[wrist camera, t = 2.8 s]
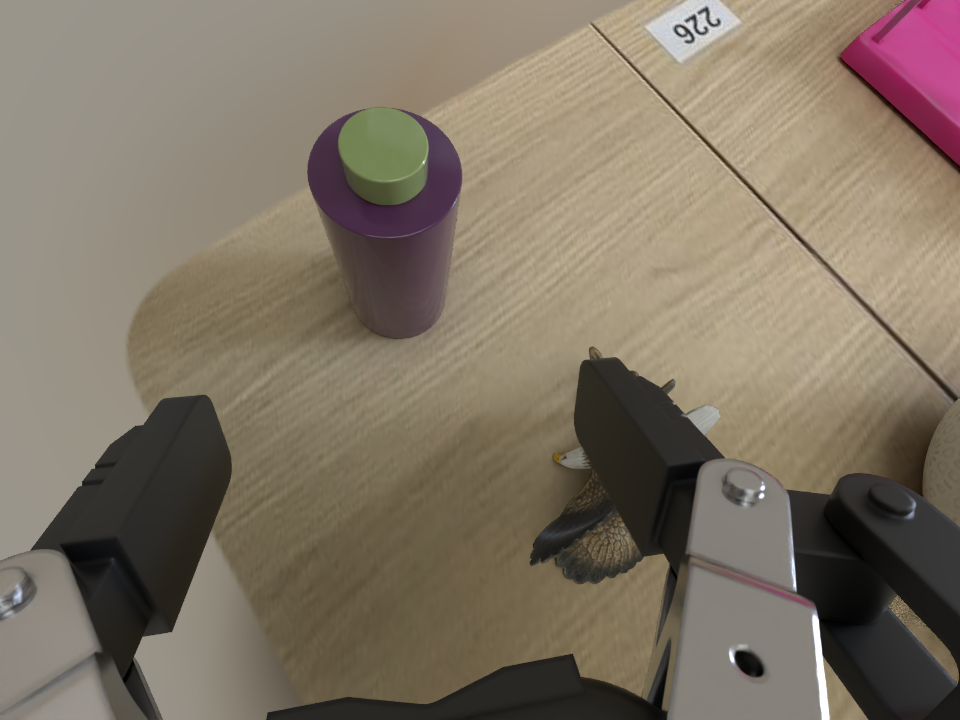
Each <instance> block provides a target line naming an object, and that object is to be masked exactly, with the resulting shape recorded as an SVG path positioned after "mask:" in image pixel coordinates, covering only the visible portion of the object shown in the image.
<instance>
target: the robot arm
mask: <svg viewBox="0 0 960 720" xmlns="http://www.w3.org/2000/svg"><path fill="white" fill-rule="evenodd" d="M574 425H575V431H576V435H577V438H578V440H579V443H580V444H581V446H582V448H583V450H584V452H585V453H586V455H587V457H588V459H589V461H590V462H591V464H592V466H593V468H594V470H595V472H596V473H597V475H598V477H599V479H600V481H601V482H602V484H603V486H604V488H605V490H606V491H607V493H608V495H609V497H610V499H611V501H612V502H613V504H614V506H615V508H616V510H617V511H618V513H619V515H620V517H621V519H622V521H623V522H624V524H625V526H626V528H627V530H628V531H629V533H630V535H631V537H632V539H633V540H634V542H635V544H636V546H637V548H638V550H639V551H640V553H641V555H642V557H645V556H651V555H657V554H663V553H664V555H665V556H666V558H667V560H668V561H669V563H670V565H669V568H668V571H667V574H666V580H665V585H664V590H663V596H662V601H661V606H660V612H659V617H658V622H657V627H656V633H655V638H654V643H653V649H652V654H651V659H650V663H649V668H648V672H647V676H646V679H645V683H644V687H643V691H642V696H641V697H640V696H638V695H636V694H634V693H632V692H630V691H628V690H626V689H624V688H621V687H618V686H616V685H613V684H610V683H608V682H604V681H600V680H595V679H591V678H584V677H580V674H579V671H578V668H577V665H576V662H575V659H574V656H573V654H569V655H564V656H559V657H554V658H548V659H543V660H538V661H533V662H528V663H522V664H517V665H512V666H507V667H503V668H501V669H499V670H497V671H495V672H493V673H491V674H489V675H487V676H485V677H483V678H481V679H479V680H477V681H475V682H473V683H471V684H469V685H468V686H466V687H464V688H462V689H460V690H458V691H456V692H454V693H452V694H450V695H448V696H446V697H444V698H442V699H440V700H438V701H436V702H433V703H430V704H414V703H404V702H394V701H383V700H373V699H363V698H353V697H346V698H341V699H336V700H331V701H325V702H320V703H315V704H310V705H305V706H300V707H294V708H289V709H284V710H279V711H274V712H268V713H267V719H266V720H829V711H828V702H827V693H826V684H825V675H824V666H823V657H822V655H823V656H824V658H825V659H826V661H827V662H828V663H829V665H830V666H831V668H832V669H833V670H834V672H835V673H836V675H837V676H838V677H839V679H840V680H841V682H842V683H843V684H844V686H845V687H846V689H847V690H848V691H849V693H850V694H851V696H852V697H853V698H854V700H855V701H856V703H857V704H858V705H859V707H860V708H861V710H862V711H863V712H864V714H865V715H866V717H867V718H868V719H869V720H960V527H959V526H958V525H957V524H956V523H954V522H953V521H952V520H951V519H949V518H948V517H947V516H946V515H945V514H943V513H942V512H941V511H940V510H938V509H937V508H936V507H935V506H933V505H932V504H931V503H930V502H929V501H927V500H926V499H925V498H923V497H922V496H921V495H919V494H918V493H916V492H914V491H913V490H911V489H909V488H907V487H905V486H904V485H901V484H899V483H897V482H895V481H892V480H889V479H886V478H883V477H880V476H876V475H871V474H862V473H854V474H848V475H845V476H843V477H842V478H840V479H839V481H838V483H837V485H836V486H835V488H834V490H833V492H832V494H831V495H827V494H818V493H810V492H801V491H793V490H786V489H785V488H784V487H783V485H782V484H781V483H780V482H779V481H778V480H777V479H776V478H775V477H773V476H772V475H771V474H769V473H768V472H766V471H765V470H763V469H761V468H759V467H757V466H755V465H752V464H750V463H747V462H744V461H740V460H735V459H726V458H725V457H724V456H723V455H722V454H721V453H720V452H719V451H718V450H717V449H716V448H715V447H714V445H713V444H712V443H711V442H710V441H709V440H708V439H707V438H706V437H705V436H704V435H703V433H702V432H701V431H700V430H699V429H698V428H697V427H696V426H695V425H694V424H693V423H692V421H691V420H690V419H689V418H688V417H685V416H684V413H683V412H682V411H681V410H680V408H679V407H678V406H677V405H674V404H673V401H672V400H671V399H670V398H669V396H668V395H667V394H666V393H665V392H664V391H663V390H662V389H661V388H660V387H659V386H657V385H655V384H653V383H652V382H650V381H648V380H646V379H645V378H643V377H641V376H636V377H634V376H633V375H632V373H631V372H630V371H629V370H628V369H627V368H626V366H625V365H624V364H623V363H622V362H621V361H620V360H619V359H618V358H616V357H612V358H601V359H591V360H584V361H583V362H582V364H581V366H580V371H579V379H578V388H577V396H576V404H575V412H574ZM231 471H232V463H231V455H230V452H229V449H228V446H227V443H226V440H225V437H224V434H223V432H222V429H221V426H220V423H219V420H218V417H217V414H216V412H215V409H214V406H213V403H212V401H211V400H210V398H209V397H208V396H206V395H196V396H186V397H175V398H165V399H163V400H161V401H160V402H159V403H158V405H157V406H156V408H155V409H154V411H153V412H152V413H151V415H150V416H149V418H148V419H147V421H146V422H145V423H144V425H141V426H135V427H133V428H132V429H131V430H130V431H128V432H127V433H125V434H124V435H123V436H121V437H120V438H119V439H117V440H116V441H115V442H113V443H112V444H111V445H110V446H109V447H108V448H107V450H106V451H105V453H104V454H103V455H102V456H101V458H100V459H99V460H98V462H97V463H96V464H95V469H92V470H91V471H90V472H89V474H88V475H87V476H86V478H85V479H84V480H83V481H82V486H80V487H78V488H77V489H76V491H75V492H74V493H73V495H72V496H71V497H70V499H69V500H68V501H67V503H66V504H65V505H64V507H63V508H62V509H61V511H60V512H59V513H58V515H57V516H56V517H55V518H54V520H53V521H52V522H51V524H50V525H49V526H48V528H47V529H46V530H45V532H44V533H43V534H42V536H41V537H40V538H39V539H38V541H37V542H36V544H35V545H34V546H33V547H32V549H31V550H30V551H27V552H24V553H20V554H17V555H14V556H11V557H8V558H6V559H4V560H1V561H0V720H163V719H162V717H161V714H160V712H159V709H158V707H157V705H156V702H155V700H154V698H153V696H152V693H151V691H150V689H149V687H148V684H147V682H146V679H145V677H144V675H143V673H142V670H141V668H140V666H139V664H138V662H137V660H136V659H135V658H134V655H135V653H136V650H137V648H138V646H139V644H140V641H141V639H142V637H143V636H150V635H156V634H162V633H168V632H172V630H173V628H174V625H175V623H176V620H177V617H178V614H179V612H180V610H181V607H182V604H183V602H184V599H185V596H186V594H187V591H188V589H189V586H190V584H191V581H192V579H193V576H194V573H195V571H196V568H197V565H198V563H199V560H200V558H201V555H202V553H203V550H204V547H205V545H206V542H207V540H208V537H209V534H210V532H211V529H212V527H213V524H214V522H215V519H216V516H217V514H218V511H219V509H220V506H221V503H222V501H223V498H224V496H225V493H226V490H227V488H228V485H229V482H230V479H231ZM897 595H898V596H899V597H900V598H901V599H902V600H903V601H904V602H905V603H906V604H907V605H908V606H909V607H910V608H911V609H912V610H913V611H914V613H915V614H916V615H917V616H918V617H919V618H920V619H921V620H922V621H923V622H924V623H925V624H926V625H927V626H928V627H929V628H930V629H931V631H932V632H933V633H934V634H935V635H936V636H937V637H938V638H939V639H940V640H941V641H942V642H943V643H944V645H945V646H946V647H947V648H948V650H949V651H950V652H951V654H952V656H953V657H954V659H955V662H956V664H957V667H958V671H959V681H958V684H957V683H956V682H955V681H954V679H953V678H952V677H951V676H950V675H949V674H948V673H947V672H946V671H945V669H944V668H943V667H942V666H941V665H940V664H939V663H938V662H937V661H936V659H935V658H934V657H933V656H932V655H931V654H930V653H929V652H928V651H927V650H926V648H925V647H924V646H923V645H922V644H921V643H920V642H919V641H918V640H917V638H916V637H915V636H914V635H913V634H912V633H911V632H910V631H909V630H908V629H907V627H906V626H905V625H904V624H903V623H902V622H901V621H900V620H899V619H898V617H897V616H896V615H895V614H894V613H893V612H892V611H891V610H890V609H889V605H890V604H891V603H892V601H893V600H894V599H895V597H896V596H897Z"/></svg>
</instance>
